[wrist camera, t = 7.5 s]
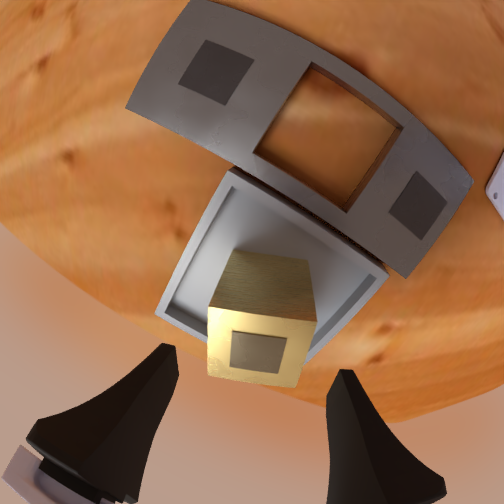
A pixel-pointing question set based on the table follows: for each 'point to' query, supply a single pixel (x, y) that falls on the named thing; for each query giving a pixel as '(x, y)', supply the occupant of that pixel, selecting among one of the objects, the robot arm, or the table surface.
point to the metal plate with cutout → (267, 108)
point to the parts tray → (273, 243)
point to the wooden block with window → (261, 319)
